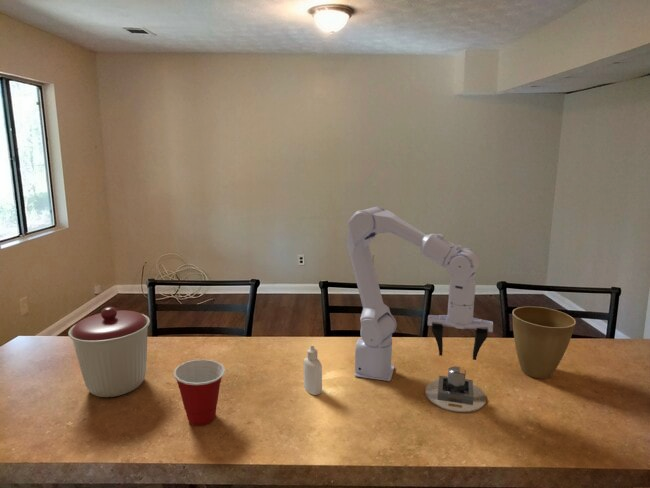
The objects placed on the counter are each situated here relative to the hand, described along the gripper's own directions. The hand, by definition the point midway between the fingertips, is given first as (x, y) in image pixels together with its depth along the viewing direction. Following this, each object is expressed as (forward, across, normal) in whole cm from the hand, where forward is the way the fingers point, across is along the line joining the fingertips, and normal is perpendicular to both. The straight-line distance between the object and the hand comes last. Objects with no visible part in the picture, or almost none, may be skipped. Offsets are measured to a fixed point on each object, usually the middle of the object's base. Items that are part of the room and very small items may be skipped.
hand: (457, 355), depth 107 cm
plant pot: (+11, +21, +18) cm, 30 cm away
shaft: (+10, 0, 0) cm, 10 cm away
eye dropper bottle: (+11, -34, -7) cm, 36 cm away
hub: (+10, 0, 0) cm, 10 cm away
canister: (+11, -82, -19) cm, 85 cm away
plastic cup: (+11, -54, -25) cm, 60 cm away
